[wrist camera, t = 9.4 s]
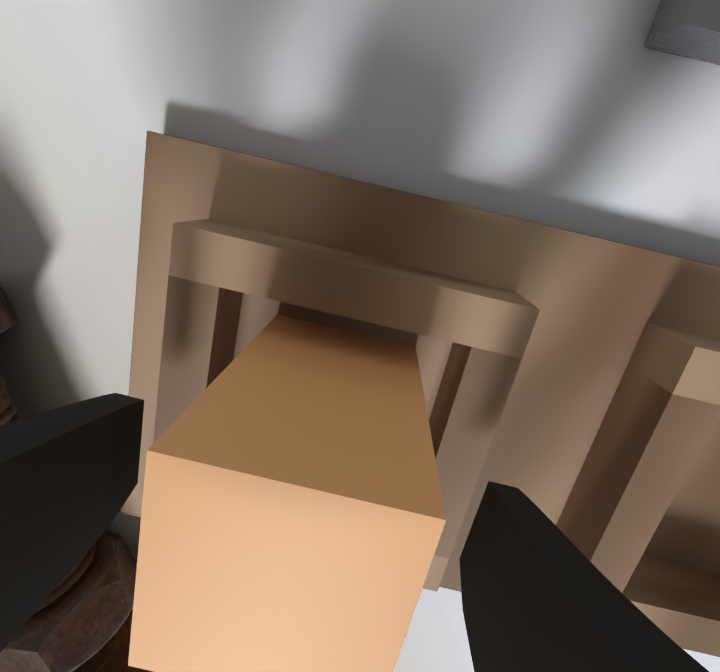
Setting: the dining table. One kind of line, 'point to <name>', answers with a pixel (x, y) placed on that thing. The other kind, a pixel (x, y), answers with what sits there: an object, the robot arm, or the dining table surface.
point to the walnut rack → (462, 353)
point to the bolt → (76, 598)
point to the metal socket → (688, 29)
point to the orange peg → (290, 511)
